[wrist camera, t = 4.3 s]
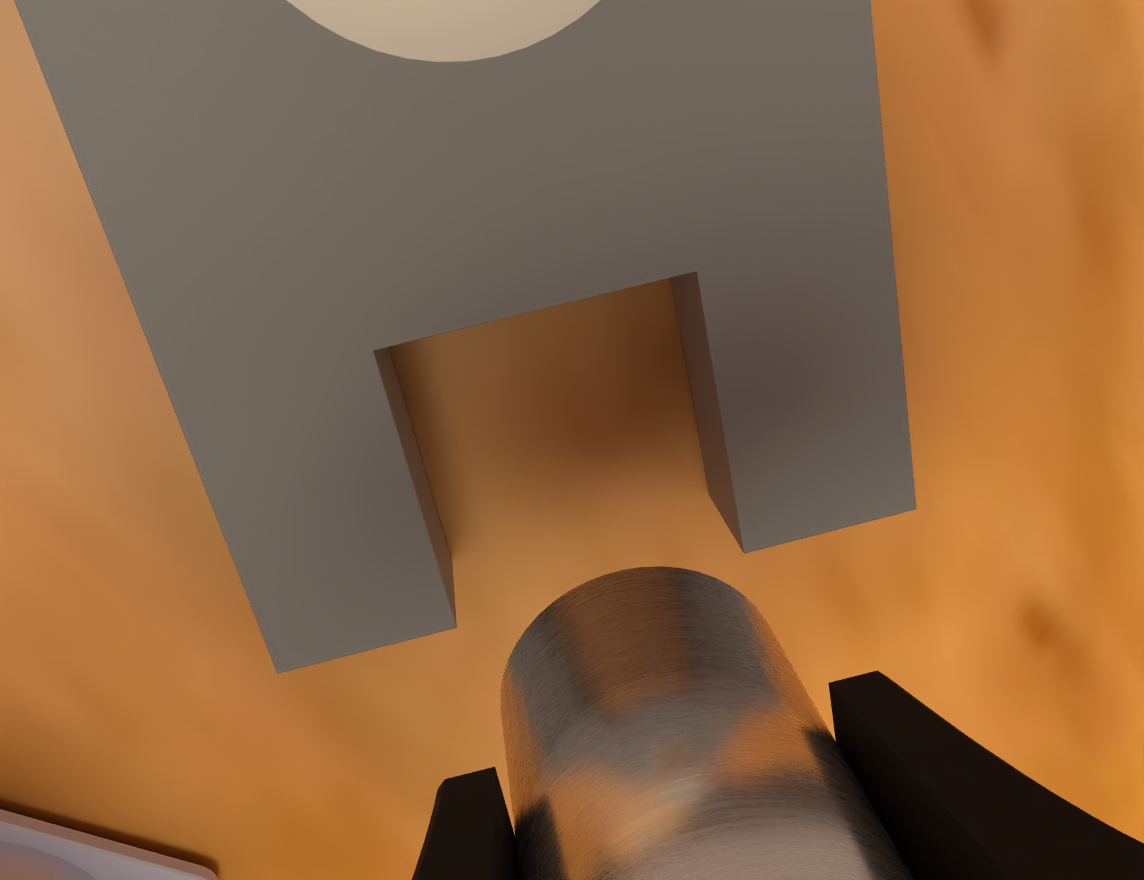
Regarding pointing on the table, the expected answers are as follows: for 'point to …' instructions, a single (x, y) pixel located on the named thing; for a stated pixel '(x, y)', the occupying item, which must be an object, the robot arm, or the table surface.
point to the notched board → (483, 251)
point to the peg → (675, 744)
